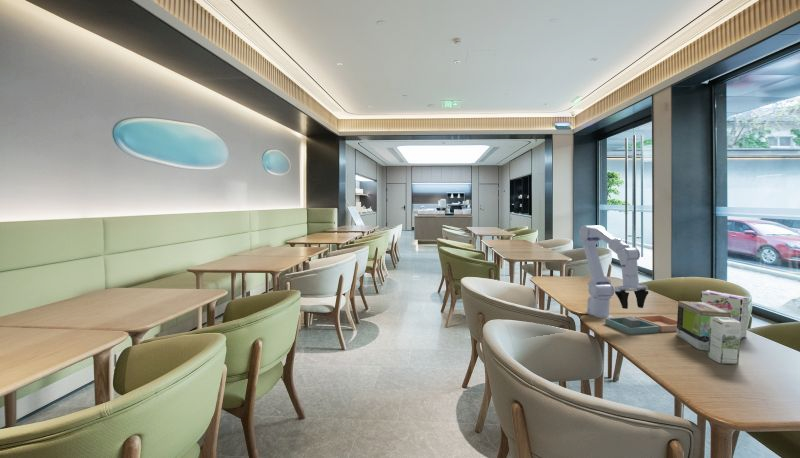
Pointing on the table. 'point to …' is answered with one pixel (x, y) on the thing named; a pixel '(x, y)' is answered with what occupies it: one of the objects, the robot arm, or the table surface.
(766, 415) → the table surface
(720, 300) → the candy box
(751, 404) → the table surface
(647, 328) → the slate bin
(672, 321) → the terracotta bin
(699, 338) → the tea box
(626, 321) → the stone block
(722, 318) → the syrup box
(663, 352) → the table surface
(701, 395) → the table surface
